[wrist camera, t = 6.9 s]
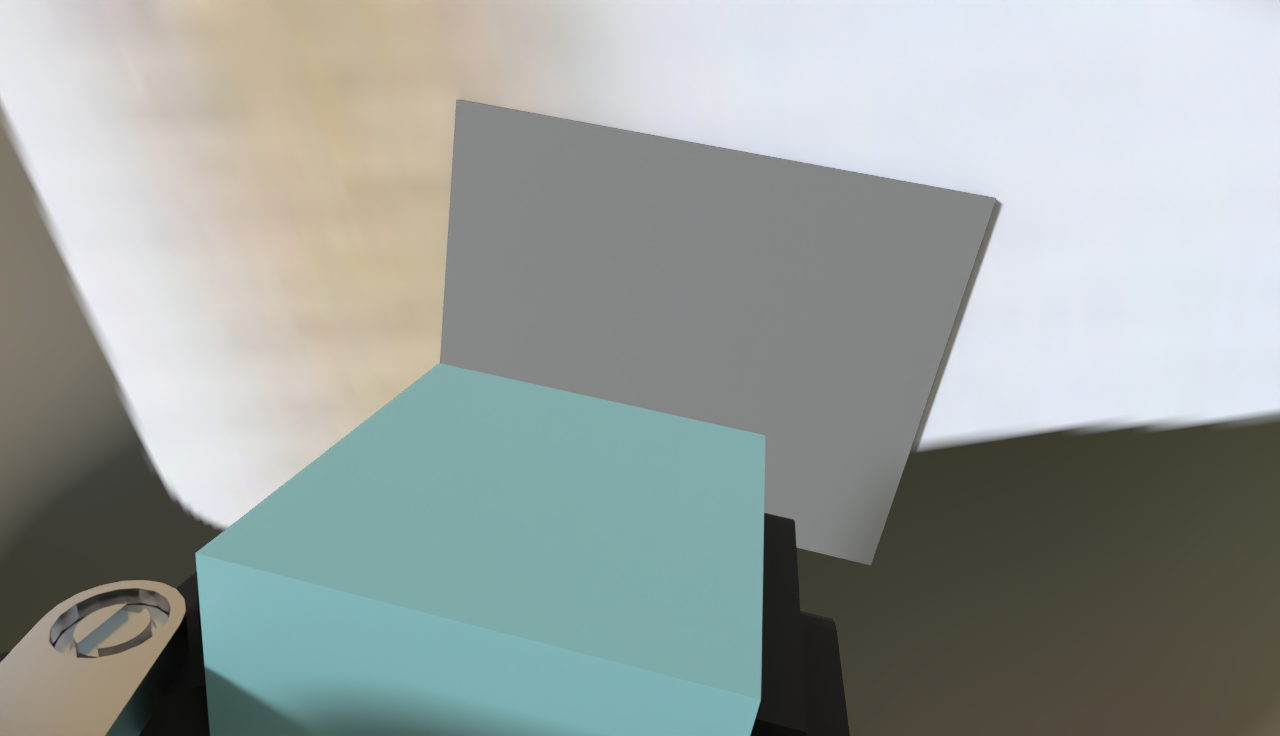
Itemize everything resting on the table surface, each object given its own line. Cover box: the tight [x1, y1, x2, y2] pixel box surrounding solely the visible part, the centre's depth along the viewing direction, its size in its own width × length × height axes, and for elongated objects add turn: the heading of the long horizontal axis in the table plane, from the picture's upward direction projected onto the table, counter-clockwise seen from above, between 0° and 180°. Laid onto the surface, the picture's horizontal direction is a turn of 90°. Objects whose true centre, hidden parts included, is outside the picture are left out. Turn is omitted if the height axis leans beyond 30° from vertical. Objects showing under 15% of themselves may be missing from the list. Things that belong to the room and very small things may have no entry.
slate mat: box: [440, 100, 996, 565], centre depth 20 cm, size 14×11×1 cm
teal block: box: [196, 363, 765, 736], centre depth 9 cm, size 5×5×5 cm
